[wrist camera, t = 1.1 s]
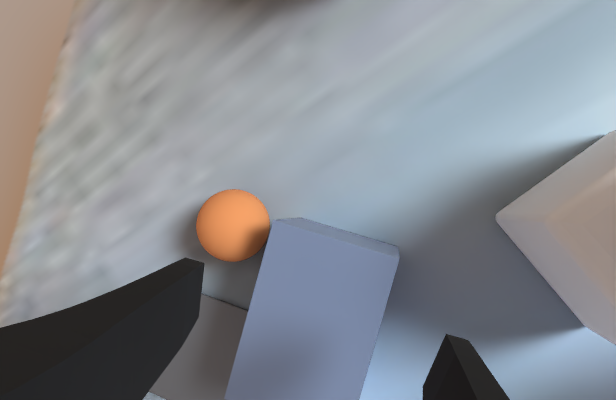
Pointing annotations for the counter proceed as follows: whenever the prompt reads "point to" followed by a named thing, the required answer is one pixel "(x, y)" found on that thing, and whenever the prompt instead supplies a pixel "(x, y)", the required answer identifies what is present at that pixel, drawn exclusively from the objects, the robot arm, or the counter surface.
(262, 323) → the blue-gray rectangular block
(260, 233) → the ball
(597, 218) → the medicine bottle
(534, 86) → the counter surface
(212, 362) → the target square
